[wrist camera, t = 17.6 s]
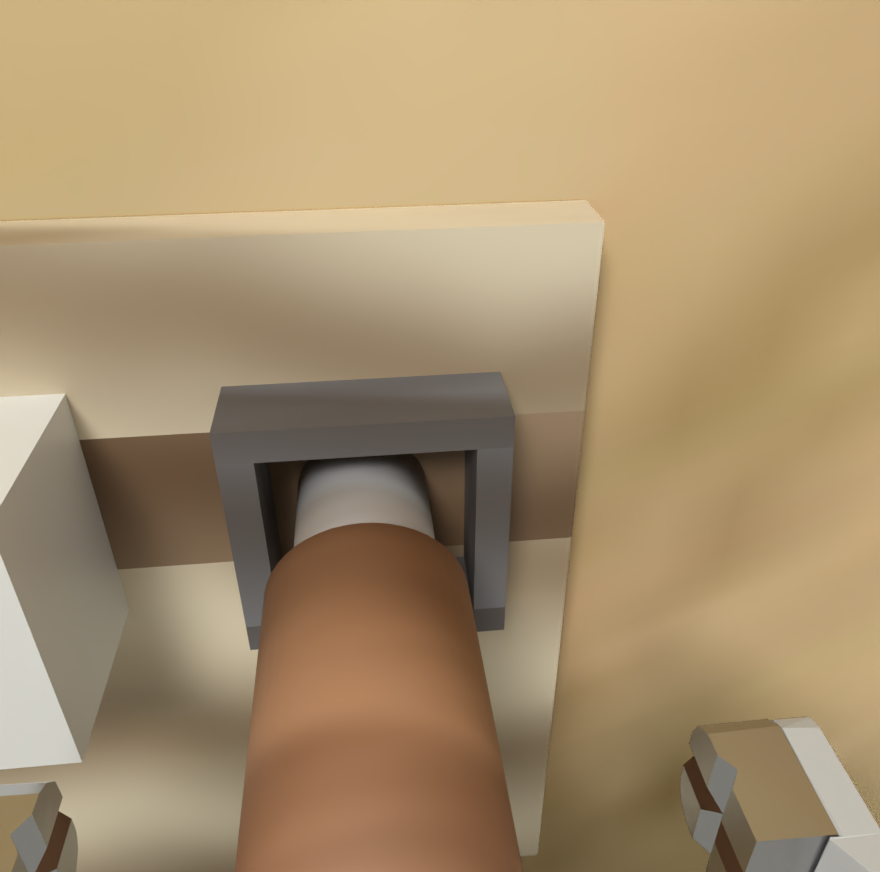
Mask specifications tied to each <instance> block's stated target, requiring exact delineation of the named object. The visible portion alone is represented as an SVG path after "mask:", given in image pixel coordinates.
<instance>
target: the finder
mask: <svg viewBox="0 0 880 872" xmlns="http://www.w3.org/2000/svg"><path fill="white" fill-rule="evenodd" d="M128 612H129V608H128V604H127V601H126V597H125V594H124V591H123V587H122V584H121V580H120V577H119V574H118V570H117V567H116V563H115V560H114V557H113V553H112V550H111V546H110V543H109V540H108V536H107V533H106V530H105V526H104V523H103V519H102V516H101V513H100V509H99V506H98V502H97V499H96V496H95V492H94V489H93V485H92V482H91V479H90V475H89V472H88V468H87V465H86V462H85V458H84V455H83V452H82V448H81V445H80V441H79V438H78V435H77V431H76V428H75V424H74V421H73V418H72V414H71V411H70V407H69V404H68V401H67V397H66V394H49V395H30V396H11V397H0V770H2V769H13V768H24V767H35V766H46V765H57V764H69V763H80V762H83V758H84V755H85V752H86V749H87V745H88V742H89V739H90V736H91V732H92V729H93V726H94V723H95V719H96V716H97V713H98V710H99V706H100V703H101V700H102V697H103V693H104V690H105V687H106V684H107V680H108V677H109V674H110V671H111V667H112V664H113V661H114V658H115V654H116V651H117V648H118V645H119V641H120V638H121V635H122V631H123V628H124V625H125V622H126V618H127V615H128Z"/></svg>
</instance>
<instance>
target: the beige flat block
mask: <svg viewBox="0 0 880 872" xmlns="http://www.w3.org/2000/svg"><path fill="white" fill-rule="evenodd" d="M604 226H605V222H604V221H603V219H602V218H601V217H600V216H599V215H598V214H597V212H596V211H595V210H594V209H593V208H592V207H591V205H590V204H589V203H588V202H587V201H586V200H574V201H546V202H519V203H491V204H464V205H436V206H409V207H381V208H354V209H326V210H299V211H271V212H244V213H216V214H189V215H161V216H134V217H106V218H79V219H51V220H24V221H0V397H11V396H30V395H49V394H66V397H67V401H68V404H69V407H70V411H71V414H72V418H73V421H74V424H75V428H76V431H77V435H78V438H79V441H80V445H81V448H82V452H83V455H84V458H85V462H86V465H87V468H88V472H89V475H90V479H91V482H92V485H93V489H94V492H95V496H96V499H97V502H98V506H99V509H100V513H101V516H102V519H103V523H104V526H105V530H106V533H107V536H108V540H109V543H110V546H111V550H112V553H113V557H114V560H115V563H116V567H117V570H118V574H119V577H120V580H121V584H122V587H123V591H124V594H125V597H126V601H127V604H128V608H129V612H128V615H127V618H126V622H125V625H124V628H123V631H122V635H121V638H120V641H119V645H118V648H117V651H116V654H115V658H114V661H113V664H112V667H111V671H110V674H109V677H108V680H107V684H106V687H105V690H104V693H103V697H102V700H101V703H100V706H99V710H98V713H97V716H96V719H95V723H94V726H93V729H92V732H91V736H90V739H89V742H88V745H87V749H86V752H85V755H84V758H83V762H80V763H69V764H57V765H46V766H35V767H24V768H13V769H2V770H0V785H4V784H18V783H33V782H47V781H55V782H56V784H57V786H58V788H59V790H60V792H61V794H62V796H63V798H62V801H61V805H60V808H59V812H61V813H63V814H65V815H66V816H68V817H70V818H72V821H73V823H74V826H75V829H76V832H77V841H78V857H77V867H76V872H235V864H236V854H237V845H238V836H239V826H240V817H241V807H242V798H243V789H244V779H245V770H246V761H247V751H248V742H249V733H250V723H251V714H252V704H253V695H254V686H255V676H256V667H257V658H258V648H259V639H260V630H261V620H262V611H263V601H264V592H265V588H266V584H267V581H268V579H269V577H270V575H271V573H272V571H273V569H274V568H275V566H276V565H277V563H278V562H279V561H280V560H281V559H282V558H283V557H284V556H285V555H286V554H287V553H288V552H289V551H290V550H291V549H293V548H294V537H295V523H296V508H297V493H298V481H299V477H300V473H301V471H302V469H303V466H304V465H305V463H306V462H307V460H315V459H331V458H347V457H364V456H380V455H396V454H412V453H413V454H414V456H415V457H416V458H417V459H418V461H419V462H420V464H421V466H422V468H423V470H424V474H425V477H426V484H427V490H428V497H429V503H430V510H431V516H432V523H433V529H434V536H435V540H437V541H438V542H439V543H441V544H442V545H443V546H445V547H446V548H447V549H448V550H449V551H450V552H451V553H452V554H453V555H454V556H455V557H456V559H457V560H458V562H459V563H460V565H461V567H462V569H463V571H464V573H465V576H466V579H467V583H468V588H469V593H470V598H471V603H472V608H473V614H474V619H475V624H476V629H477V634H478V640H479V645H480V650H481V655H482V660H483V665H484V671H485V676H486V681H487V686H488V691H489V696H490V702H491V707H492V712H493V717H494V722H495V728H496V733H497V738H498V743H499V748H500V753H501V759H502V764H503V769H504V774H505V779H506V784H507V790H508V795H509V800H510V805H511V810H512V816H513V821H514V826H515V831H516V836H517V841H518V847H519V852H520V857H521V856H531V855H538V846H539V837H540V827H541V818H542V809H543V799H544V790H545V780H546V771H547V762H548V752H549V743H550V733H551V724H552V715H553V705H554V696H555V686H556V677H557V668H558V658H559V649H560V639H561V630H562V621H563V611H564V602H565V592H566V583H567V574H568V564H569V555H570V545H571V536H572V527H573V517H574V508H575V498H576V489H577V480H578V470H579V461H580V451H581V442H582V433H583V423H584V414H585V404H586V395H587V386H588V376H589V367H590V357H591V348H592V339H593V329H594V320H595V310H596V301H597V292H598V282H599V273H600V263H601V254H602V245H603V235H604Z"/></svg>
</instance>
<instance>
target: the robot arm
mask: <svg viewBox="0 0 880 872" xmlns="http://www.w3.org/2000/svg"><path fill="white" fill-rule="evenodd" d="M689 744H690V747H691V749H692V752H693V754H694V756H693V757H692V758H691V759H690V760H689V761H687V762H686V763H685V764H684V765H683V769H682V774H681V779H680V789H681V803H682V807H683V811H684V815H685V819H686V822H687V824H688V827H689V830H690V833H691V835H692V838H693V839H694V840H695V841H696V842H697V843H699V844H700V845H701V846H702V847H703V848H704V849H705V850H707V851H708V852H709V853H710V858H709V861H708V865H707V868H706V872H880V827H879V825H878V824H877V822H876V820H875V819H874V817H873V815H872V814H871V812H870V810H869V809H868V807H867V805H866V804H865V802H864V800H863V799H862V797H861V795H860V794H859V792H858V790H857V789H856V787H855V785H854V784H853V782H852V780H851V779H850V777H849V775H848V774H847V772H846V770H845V769H844V767H843V765H842V764H841V762H840V760H839V759H838V757H837V755H836V754H835V752H834V750H833V749H832V747H831V746H830V744H829V742H828V741H827V739H826V737H825V736H824V734H823V732H822V731H821V729H820V727H819V726H818V724H817V723H816V722H815V721H813V720H812V719H811V718H810V717H795V718H785V719H776V720H768V719H762V720H752V721H742V722H732V723H722V724H713V725H703V726H698V727H697V728H695V729H694V730H693V732H692V735H691V739H690V742H689ZM62 798H63V796H62V794H61V792H60V790H59V788H58V786H57V784H56V782H55V781H47V782H33V783H18V784H4V785H0V872H76V867H77V857H78V841H77V832H76V829H75V826H74V823H73V821H72V818H70V817H68V816H66V815H65V814H63V813H61V812H59V808H60V805H61V801H62Z"/></svg>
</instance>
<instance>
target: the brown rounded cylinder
mask: <svg viewBox="0 0 880 872" xmlns="http://www.w3.org/2000/svg"><path fill="white" fill-rule="evenodd" d="M235 872H523V867H522V862H521V857H520V852H519V847H518V841H517V836H516V831H515V826H514V821H513V816H512V810H511V805H510V800H509V795H508V790H507V784H506V779H505V774H504V769H503V764H502V759H501V753H500V748H499V743H498V738H497V733H496V728H495V722H494V717H493V712H492V707H491V702H490V696H489V691H488V686H487V681H486V676H485V671H484V665H483V660H482V655H481V650H480V645H479V640H478V634H477V629H476V624H475V619H474V614H473V608H472V603H471V598H470V593H469V588H468V583H467V579H466V576H465V573H464V571H463V569H462V567H461V565H460V563H459V562H458V560H457V559H456V557H455V556H454V555H453V554H452V553H451V552H450V551H449V550H448V549H447V548H446V547H445V546H443V545H442V544H441V543H439V542H438V541H437V540H435V536H434V529H433V523H432V516H431V510H430V503H429V497H428V490H427V484H426V477H425V474H424V470H423V468H422V466H421V464H420V462H419V461H418V459H417V458H416V457H415V456H414V454H413V453H412V454H396V455H380V456H364V457H347V458H331V459H315V460H307V462H306V463H305V465H304V466H303V469H302V471H301V473H300V477H299V481H298V493H297V508H296V523H295V537H294V548H293V549H291V550H290V551H289V552H288V553H287V554H286V555H285V556H284V557H283V558H282V559H281V560H280V561H279V562H278V563H277V565H276V566H275V568H274V569H273V571H272V573H271V575H270V577H269V579H268V581H267V584H266V588H265V592H264V601H263V611H262V620H261V630H260V639H259V648H258V658H257V667H256V676H255V686H254V695H253V704H252V714H251V723H250V733H249V742H248V751H247V761H246V770H245V779H244V789H243V798H242V807H241V817H240V826H239V836H238V845H237V854H236V864H235Z"/></svg>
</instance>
